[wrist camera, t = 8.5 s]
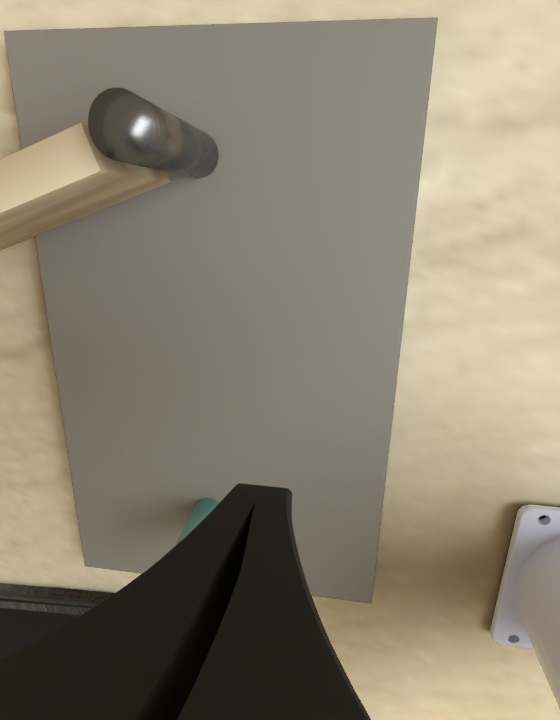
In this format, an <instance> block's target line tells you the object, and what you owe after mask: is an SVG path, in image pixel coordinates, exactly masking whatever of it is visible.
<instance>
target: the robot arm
mask: <svg viewBox="0 0 560 720" xmlns="http://www.w3.org/2000/svg"><path fill="white" fill-rule="evenodd" d="M542 515H546V517H545V518H544V519H538V518H539V517H540V516H542ZM490 633H491V636H492V639H493V640H494V641H495V642H496V643H498V644H502V645H509V646H516V647H524V648H531V649H534V650H535V652H536V655H537V657H538V659H539V662H540V664H541V666H542V669H543V671H544V673H545V676H546V678H547V680H548V683H549V685H550V687H551V690H552V692H553V694H554V697H555V699H556V701H557V703H558V706H559V708H560V507H551V506H541V505H525V506H522V507H521V508H520V509H519V510H518V512H517V516H516V520H515V525H514V529H513V533H512V538H511V542H510V546H509V551H508V555H507V559H506V564H505V568H504V572H503V577H502V581H501V585H500V590H499V594H498V598H497V603H496V607H495V611H494V616H493V620H492V624H491V629H490ZM511 635H513V636H511ZM0 720H371V719H370V717H369V715H368V713H367V712H366V710H365V708H364V706H363V705H362V703H361V701H360V699H359V698H358V696H357V694H356V692H355V691H354V689H353V687H352V685H351V683H350V681H349V679H348V677H347V675H346V673H345V671H344V669H343V667H342V665H341V663H340V661H339V659H338V657H337V655H336V653H335V651H334V649H333V647H332V645H331V643H330V641H329V638H328V636H327V634H326V631H325V629H324V627H323V624H322V622H321V620H320V617H319V615H318V612H317V610H316V607H315V604H314V602H313V599H312V596H311V594H310V591H309V588H308V585H307V582H306V578H305V575H304V572H303V569H302V565H301V562H300V558H299V554H298V550H297V545H296V541H295V536H294V531H293V525H292V492H291V491H290V490H289V489H288V488H281V487H271V486H261V485H251V484H241V483H238V484H237V485H236V486H235V487H234V488H233V489H232V490H231V491H230V492H229V493H228V494H227V495H226V496H225V497H224V498H223V500H222V501H221V502H220V503H219V504H218V505H217V506H216V507H215V508H214V509H213V510H212V511H211V512H210V513H209V514H208V515H207V516H206V517H205V518H204V519H203V520H202V521H201V522H200V523H199V524H198V525H197V526H196V527H195V528H194V529H193V530H192V531H191V532H190V533H189V534H188V535H187V536H186V537H185V538H184V539H183V540H182V541H180V542H179V543H178V544H177V545H176V546H175V547H174V548H172V549H171V550H170V551H169V552H168V553H167V554H166V555H164V556H163V557H162V558H161V559H160V560H159V561H157V562H156V563H155V564H154V565H153V566H151V567H150V568H149V569H148V570H146V571H145V572H144V573H142V574H141V575H140V576H139V577H137V578H136V579H135V580H133V581H132V582H131V583H129V584H128V585H126V586H125V587H124V588H122V589H121V590H120V591H118V592H117V593H115V594H114V595H112V596H111V597H109V598H108V599H106V600H105V601H103V602H101V603H100V604H98V605H97V606H95V607H94V608H92V609H90V610H89V611H87V612H86V613H84V614H82V615H81V616H79V617H78V618H76V619H75V620H73V621H71V622H70V623H68V624H66V625H64V626H63V627H61V628H59V629H57V630H56V631H54V632H52V633H50V634H48V635H47V636H45V637H43V638H41V639H39V640H37V641H36V642H34V643H32V644H30V645H28V646H26V647H24V648H22V649H20V650H18V651H17V652H15V653H13V654H11V655H9V656H7V657H5V658H3V659H1V660H0Z"/></svg>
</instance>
